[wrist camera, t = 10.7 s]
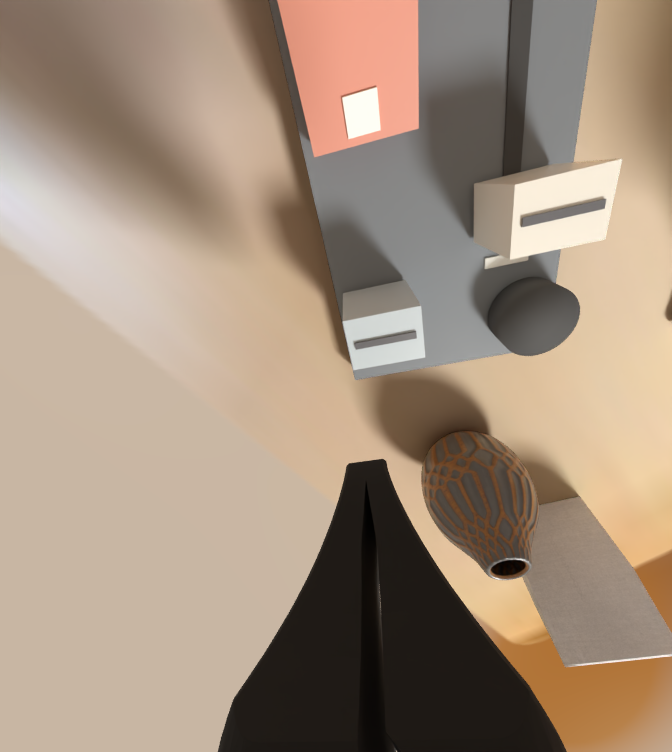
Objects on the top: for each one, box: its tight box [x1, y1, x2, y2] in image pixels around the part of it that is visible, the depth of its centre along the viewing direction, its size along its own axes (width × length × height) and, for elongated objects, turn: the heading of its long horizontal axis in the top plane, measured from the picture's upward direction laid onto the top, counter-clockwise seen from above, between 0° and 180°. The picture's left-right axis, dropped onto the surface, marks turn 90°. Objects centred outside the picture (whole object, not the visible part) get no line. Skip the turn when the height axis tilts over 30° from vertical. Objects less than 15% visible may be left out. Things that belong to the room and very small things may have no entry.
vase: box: [421, 431, 539, 580], centre depth 21 cm, size 7×7×9 cm
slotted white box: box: [343, 280, 425, 370], centre depth 15 cm, size 3×2×4 cm
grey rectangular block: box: [522, 496, 672, 667], centre depth 24 cm, size 4×7×10 cm, turn 113°
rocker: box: [277, 0, 419, 157], centre depth 9 cm, size 4×7×2 cm, turn 13°
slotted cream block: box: [474, 159, 622, 260], centre depth 12 cm, size 3×2×4 cm
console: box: [269, 0, 597, 380], centre depth 14 cm, size 11×20×2 cm, turn 13°
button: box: [488, 277, 580, 356], centre depth 16 cm, size 4×4×2 cm
